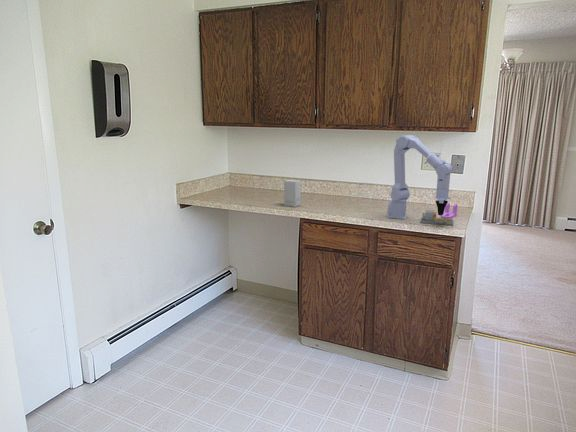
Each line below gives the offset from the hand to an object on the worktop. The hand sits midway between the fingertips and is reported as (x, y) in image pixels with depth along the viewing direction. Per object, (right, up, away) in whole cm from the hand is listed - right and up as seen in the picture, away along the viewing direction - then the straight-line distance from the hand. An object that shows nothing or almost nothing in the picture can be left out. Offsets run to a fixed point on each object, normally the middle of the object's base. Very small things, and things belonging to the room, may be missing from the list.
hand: (440, 215), depth 218 cm
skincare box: (-74, +5, +47) cm, 87 cm away
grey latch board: (+1, -4, +9) cm, 10 cm away
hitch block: (0, -3, +11) cm, 11 cm away
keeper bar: (+2, -3, +4) cm, 5 cm away
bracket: (+12, -1, +22) cm, 25 cm away
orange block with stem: (-2, -2, +12) cm, 12 cm away
